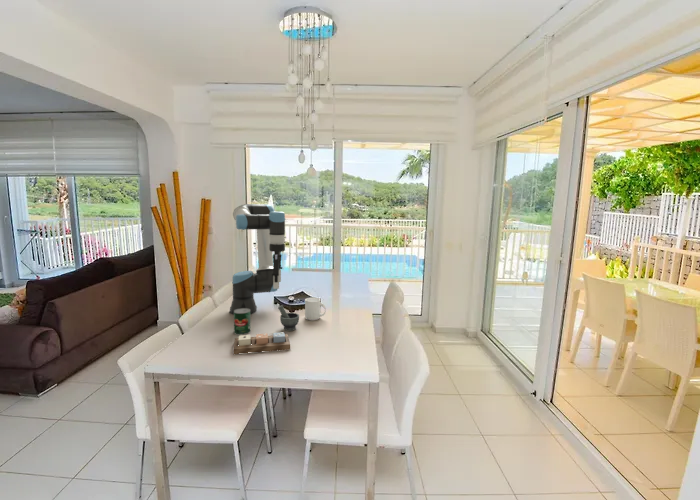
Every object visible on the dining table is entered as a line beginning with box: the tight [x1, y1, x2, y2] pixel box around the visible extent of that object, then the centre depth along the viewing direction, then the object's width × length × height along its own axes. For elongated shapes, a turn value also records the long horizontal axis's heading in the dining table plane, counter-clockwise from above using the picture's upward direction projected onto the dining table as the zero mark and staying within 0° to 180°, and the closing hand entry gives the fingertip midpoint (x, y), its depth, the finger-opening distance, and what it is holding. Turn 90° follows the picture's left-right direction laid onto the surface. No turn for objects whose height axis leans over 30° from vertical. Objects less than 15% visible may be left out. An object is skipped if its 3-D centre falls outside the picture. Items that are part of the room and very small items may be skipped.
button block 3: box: [272, 331, 285, 343], centre depth 160 cm, size 5×5×3 cm
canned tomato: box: [233, 308, 252, 336], centre depth 174 cm, size 8×8×11 cm
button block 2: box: [255, 332, 269, 344], centre depth 158 cm, size 5×5×3 cm
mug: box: [304, 297, 327, 321], centre depth 197 cm, size 9×12×11 cm
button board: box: [232, 333, 291, 355], centre depth 158 cm, size 24×12×2 cm, turn 106°
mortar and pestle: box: [277, 304, 300, 332], centre depth 180 cm, size 11×9×12 cm
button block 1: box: [238, 334, 252, 346], centre depth 156 cm, size 5×5×3 cm
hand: (277, 285), depth 176 cm, fingers open, 13 cm apart
